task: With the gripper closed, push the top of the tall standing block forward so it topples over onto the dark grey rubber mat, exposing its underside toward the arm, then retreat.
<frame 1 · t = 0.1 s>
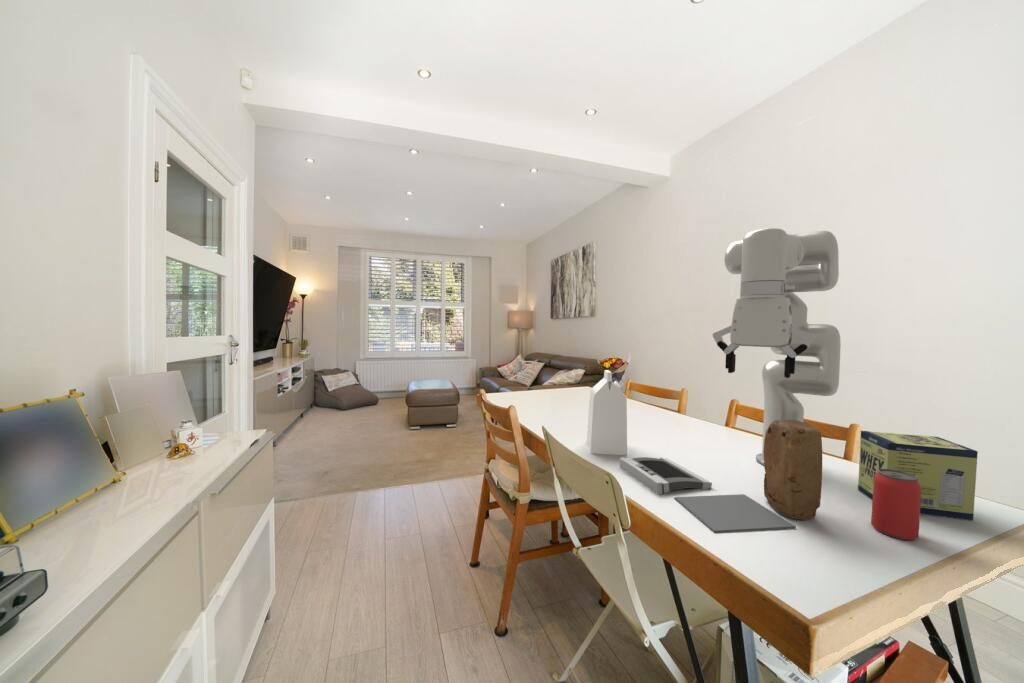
hand: (758, 374, 74), 31 cm above the table, tool pointing down, fingers open, 9 cm apart
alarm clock: (663, 479, 97), on the table
milk: (605, 448, 120), on the table
mat: (730, 512, 79), on the table
block: (787, 510, 81), on the table
protein box: (910, 505, 84), on the table
beer can: (893, 533, 72), on the table
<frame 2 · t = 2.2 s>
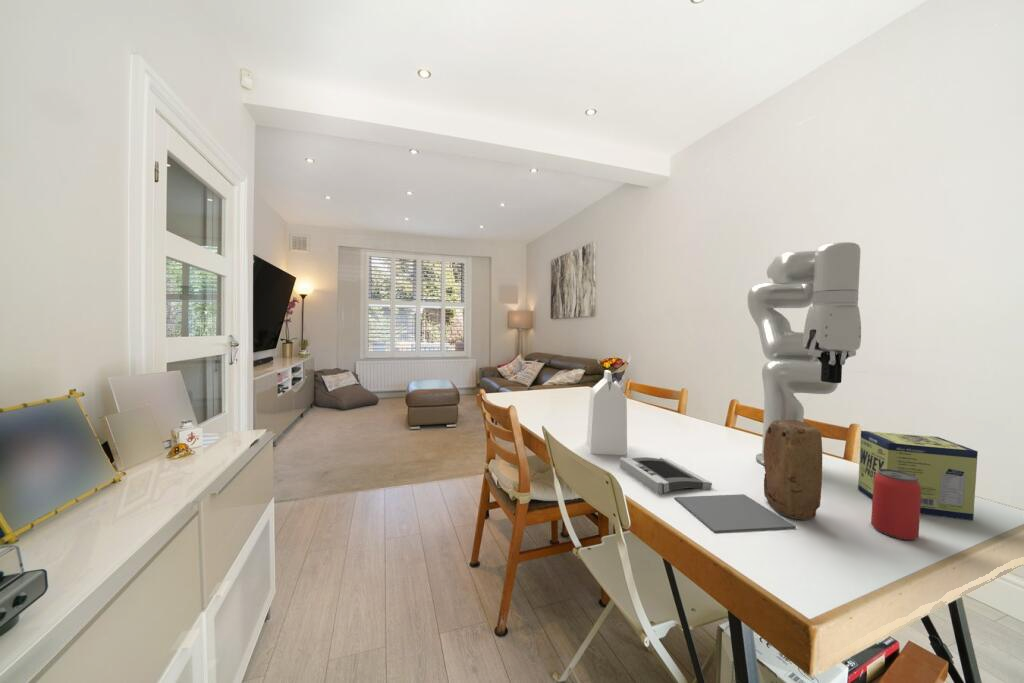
hand: (830, 382, 80), 29 cm above the table, tool pointing down, fingers closed
nothing on the table moved.
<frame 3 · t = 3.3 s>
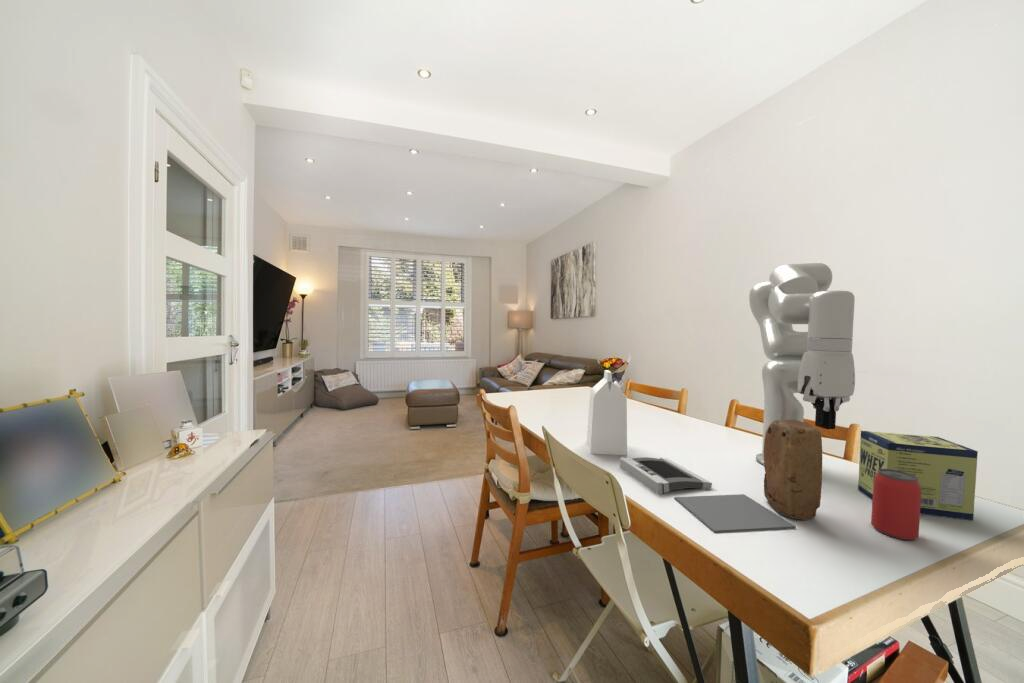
hand: (824, 427, 81), 19 cm above the table, tool pointing down, fingers closed
nothing on the table moved.
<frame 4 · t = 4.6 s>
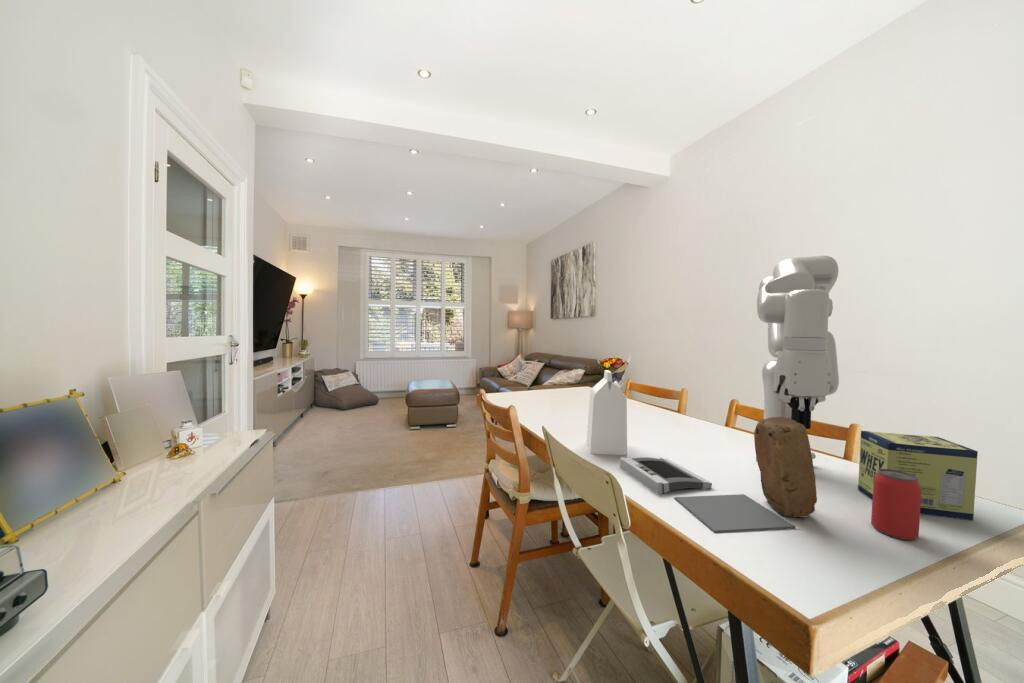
hand: (800, 427, 80), 19 cm above the table, tool pointing down, fingers closed
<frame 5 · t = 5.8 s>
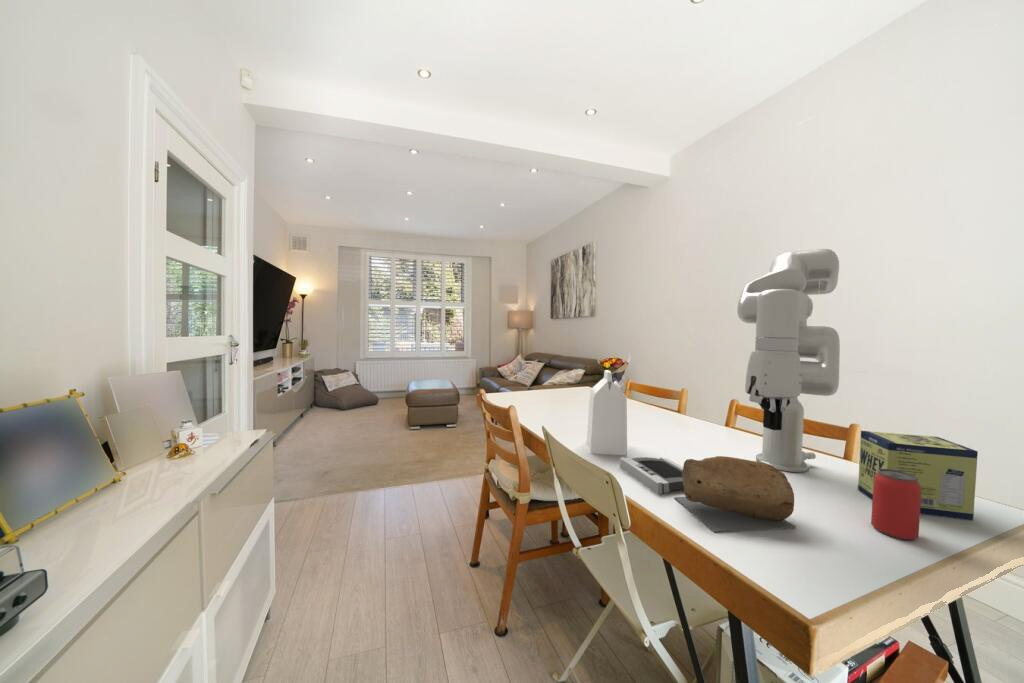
hand: (772, 428, 79), 19 cm above the table, tool pointing down, fingers closed
block: (786, 494, 76), point 6 cm above the table, touching mat
everything else where it was.
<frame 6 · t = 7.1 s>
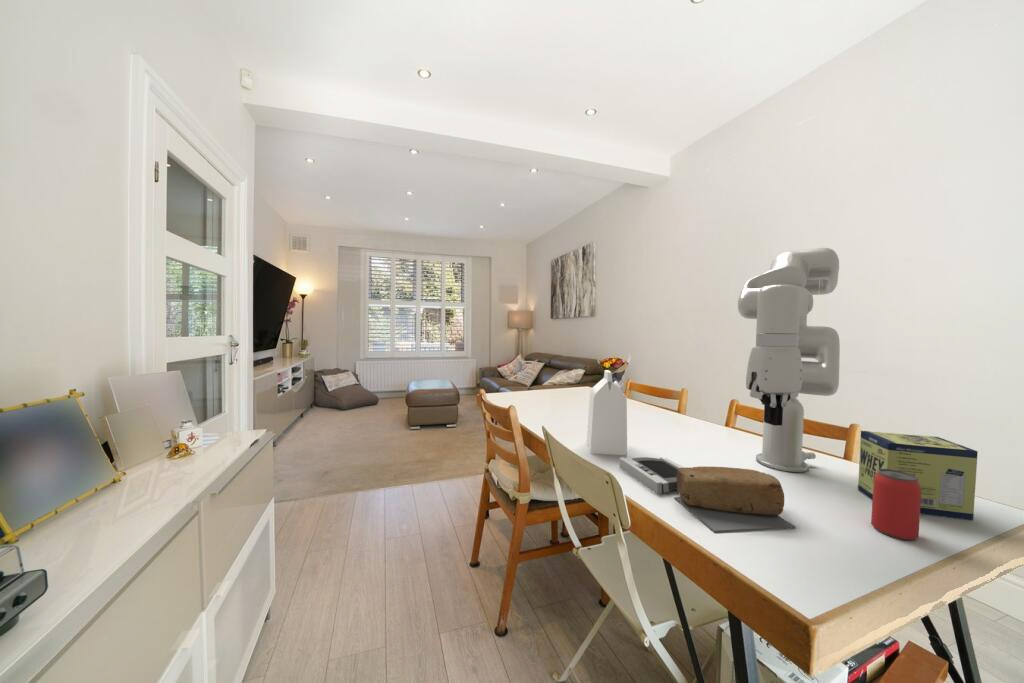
hand: (772, 423, 80), 20 cm above the table, tool pointing down, fingers closed
block: (776, 491, 80), point 4 cm above the table, touching mat
everything else where it was.
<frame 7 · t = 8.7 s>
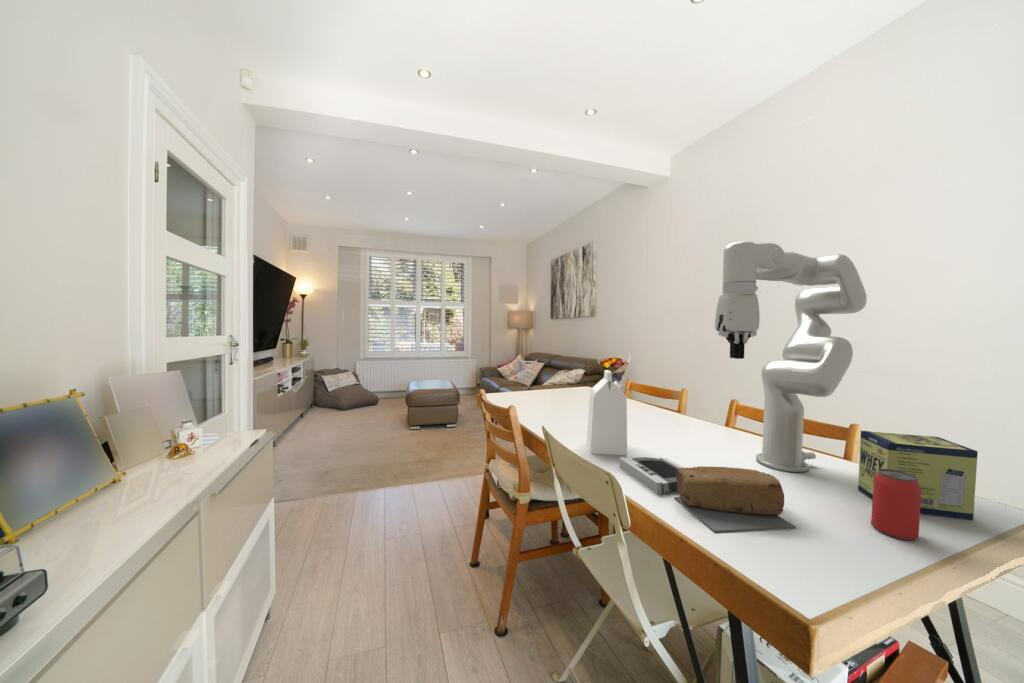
hand: (736, 358, 96), 33 cm above the table, tool pointing down, fingers closed
nothing on the table moved.
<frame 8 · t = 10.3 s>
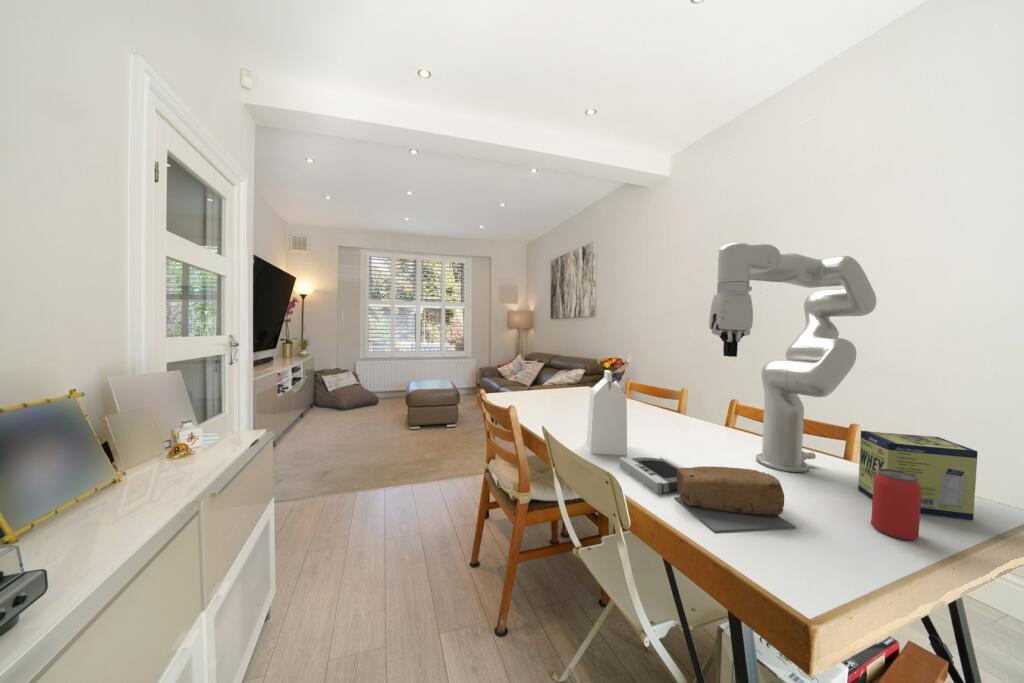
hand: (730, 356, 99), 33 cm above the table, tool pointing down, fingers closed
nothing on the table moved.
at the end: block tilted 92°; block inside the target area (12.6 cm from its centre), point 4.4 cm above the table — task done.
